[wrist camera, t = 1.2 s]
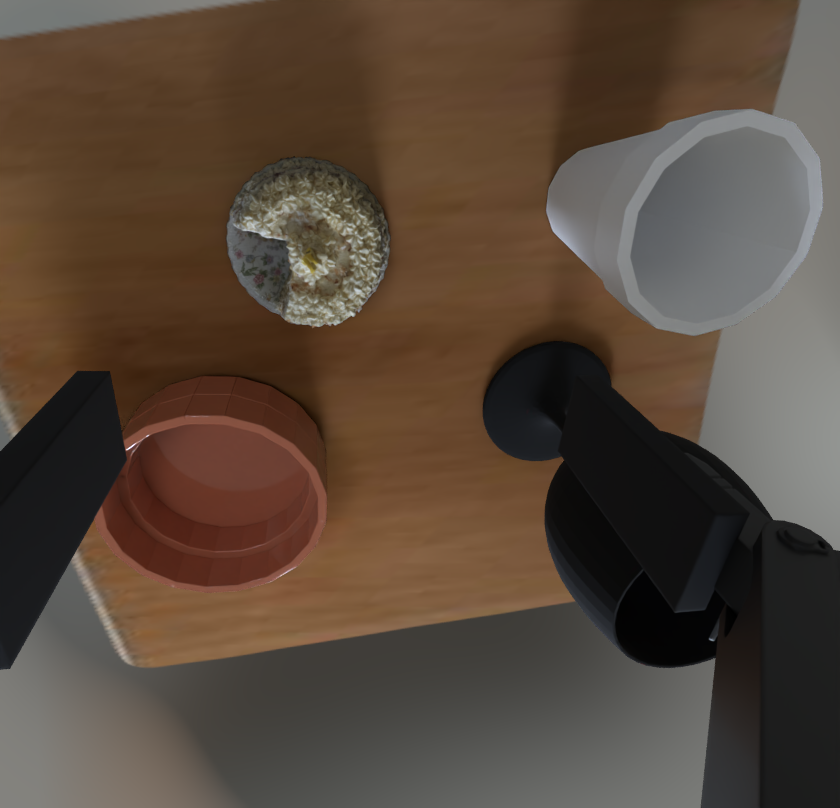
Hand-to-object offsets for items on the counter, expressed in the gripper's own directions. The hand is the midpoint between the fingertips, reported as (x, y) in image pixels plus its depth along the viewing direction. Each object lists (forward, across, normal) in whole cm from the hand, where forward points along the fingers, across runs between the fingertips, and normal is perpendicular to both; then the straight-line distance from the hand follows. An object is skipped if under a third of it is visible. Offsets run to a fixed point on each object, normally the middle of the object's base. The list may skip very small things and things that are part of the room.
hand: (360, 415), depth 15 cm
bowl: (+21, -8, -15) cm, 27 cm away
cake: (+21, -2, +1) cm, 21 cm away
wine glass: (+21, +16, -11) cm, 29 cm away
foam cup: (+21, +16, +4) cm, 27 cm away
